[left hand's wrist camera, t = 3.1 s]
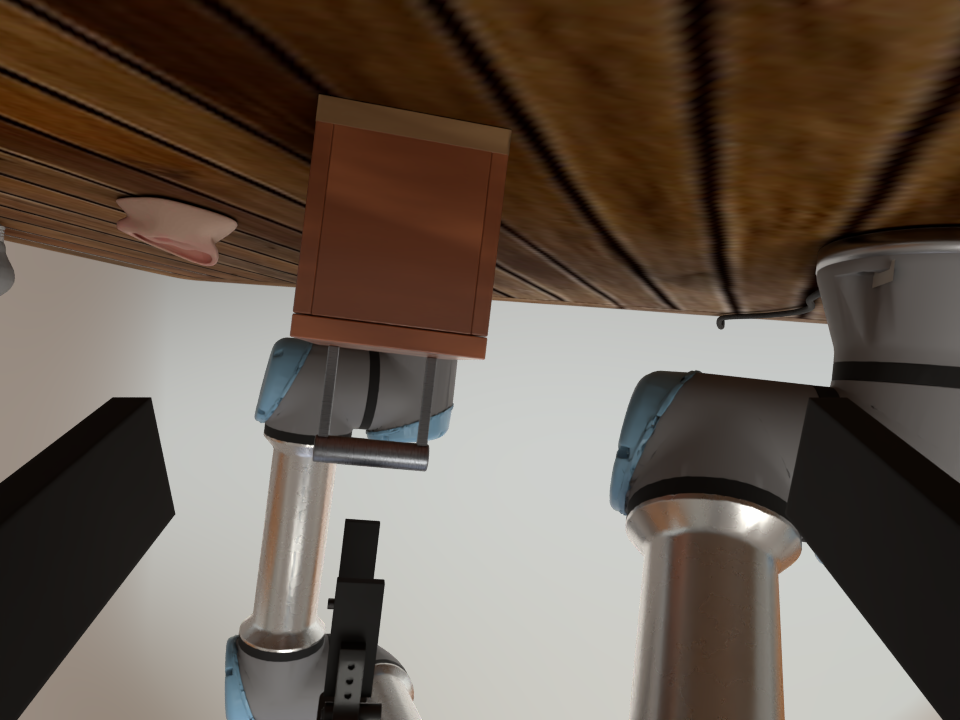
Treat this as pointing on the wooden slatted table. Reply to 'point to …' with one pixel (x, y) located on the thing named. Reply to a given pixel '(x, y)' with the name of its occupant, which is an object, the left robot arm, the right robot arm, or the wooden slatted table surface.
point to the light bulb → (5, 267)
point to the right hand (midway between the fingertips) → (362, 545)
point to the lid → (389, 342)
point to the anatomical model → (175, 227)
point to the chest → (401, 218)
